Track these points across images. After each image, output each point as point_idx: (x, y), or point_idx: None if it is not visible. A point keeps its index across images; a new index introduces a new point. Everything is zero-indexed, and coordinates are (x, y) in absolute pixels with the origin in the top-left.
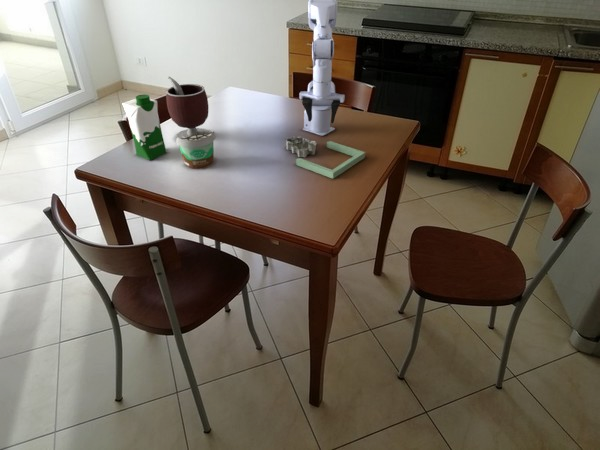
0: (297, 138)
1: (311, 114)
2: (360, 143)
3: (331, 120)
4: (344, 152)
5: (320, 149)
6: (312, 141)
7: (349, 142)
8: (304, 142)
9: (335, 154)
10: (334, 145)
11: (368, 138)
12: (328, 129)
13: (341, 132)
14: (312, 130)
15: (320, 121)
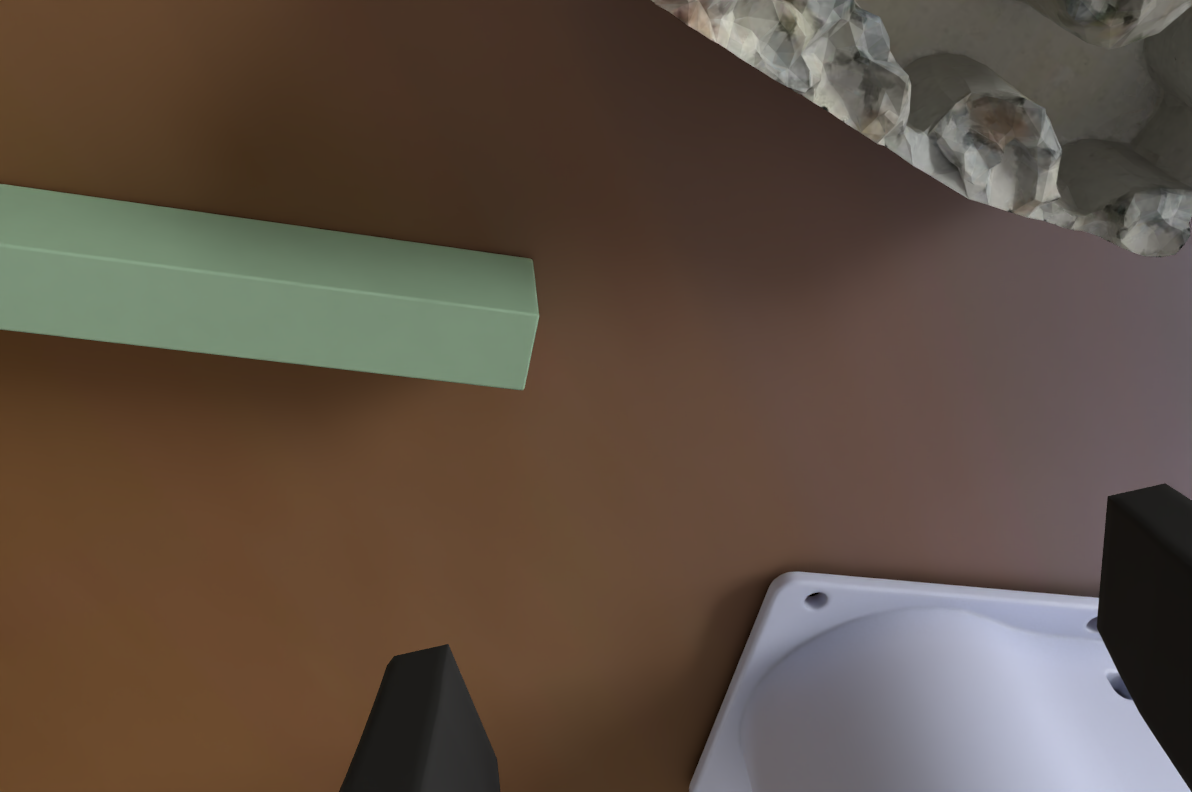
0: (1189, 181)
1: (1190, 735)
2: (109, 629)
3: (415, 716)
4: (78, 204)
5: (607, 132)
6: (791, 61)
7: (283, 585)
8: (991, 86)
9: (212, 68)
10: (334, 277)
11: (118, 786)
12: (751, 731)
13: (567, 766)
14: (989, 625)
15: (912, 789)
